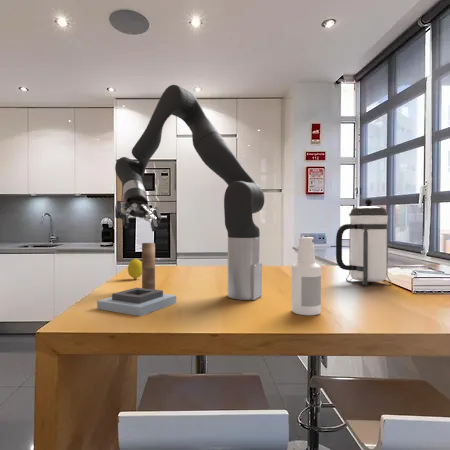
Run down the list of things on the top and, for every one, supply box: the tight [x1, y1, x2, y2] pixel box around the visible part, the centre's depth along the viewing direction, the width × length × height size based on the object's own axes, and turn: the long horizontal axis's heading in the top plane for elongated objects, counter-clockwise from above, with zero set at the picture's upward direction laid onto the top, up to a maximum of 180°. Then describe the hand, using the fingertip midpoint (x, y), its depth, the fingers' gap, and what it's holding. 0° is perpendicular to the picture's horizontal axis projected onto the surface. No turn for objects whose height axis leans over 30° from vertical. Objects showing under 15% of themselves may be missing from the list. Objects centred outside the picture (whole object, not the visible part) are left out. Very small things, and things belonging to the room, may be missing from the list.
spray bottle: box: [291, 236, 322, 316], centre depth 80 cm, size 7×7×18 cm
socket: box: [96, 287, 177, 317], centre depth 85 cm, size 14×14×4 cm
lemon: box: [127, 257, 142, 280], centre depth 125 cm, size 6×6×8 cm
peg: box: [141, 242, 156, 290], centre depth 104 cm, size 4×4×15 cm
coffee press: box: [335, 198, 392, 287], centre depth 117 cm, size 17×16×30 cm
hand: (141, 227), depth 102 cm, fingers open, 8 cm apart
